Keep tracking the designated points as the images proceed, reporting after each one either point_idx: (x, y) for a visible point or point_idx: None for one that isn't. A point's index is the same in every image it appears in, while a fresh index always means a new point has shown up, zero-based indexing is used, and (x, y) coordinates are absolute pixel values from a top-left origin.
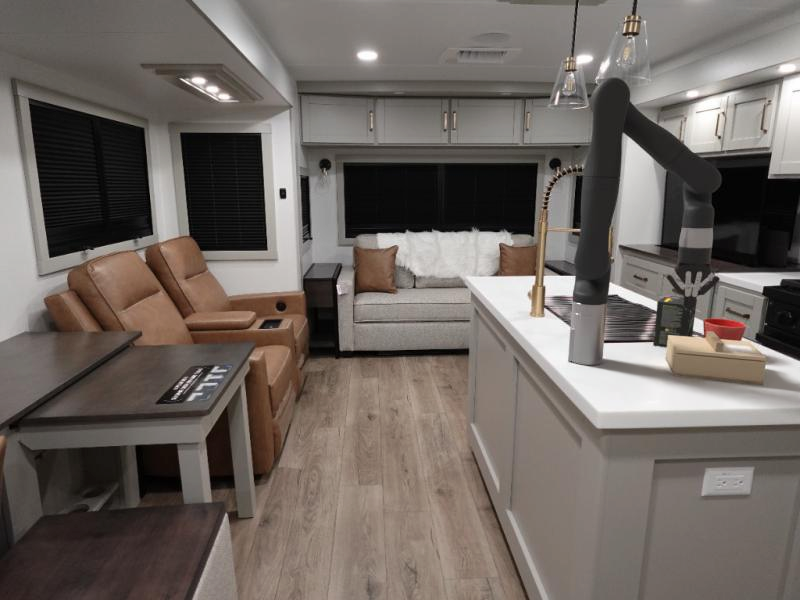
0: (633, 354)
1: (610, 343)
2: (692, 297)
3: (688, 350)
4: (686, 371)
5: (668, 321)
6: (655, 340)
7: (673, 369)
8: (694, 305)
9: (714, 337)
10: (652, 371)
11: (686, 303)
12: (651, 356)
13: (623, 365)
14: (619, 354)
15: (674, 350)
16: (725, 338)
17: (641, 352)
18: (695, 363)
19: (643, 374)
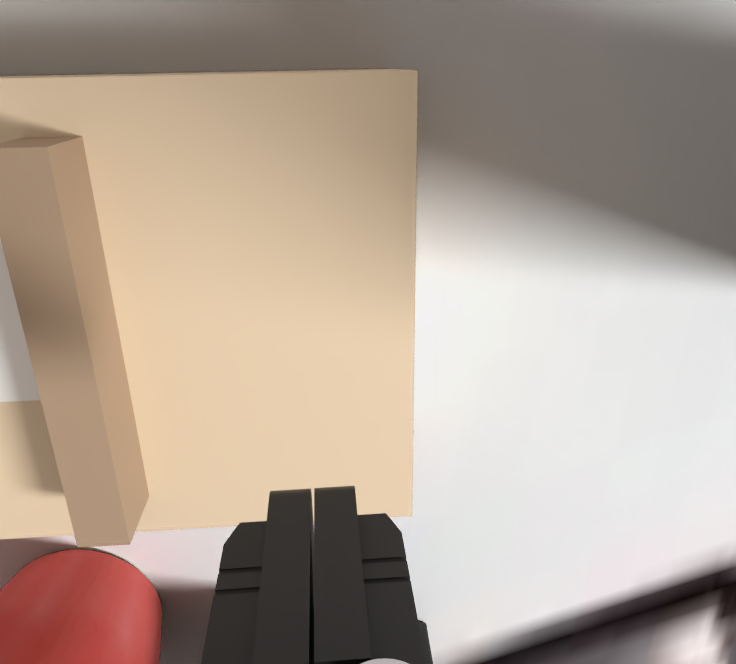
0: (566, 427)
1: (654, 577)
2: (276, 658)
3: (313, 87)
4: (313, 70)
5: None
6: (422, 644)
7: None
8: (237, 558)
9: (67, 353)
10: (514, 116)
11: (365, 567)
12: (467, 427)
13: (678, 180)
14: (650, 398)
15: None
16: (18, 631)
17: (512, 480)
18: (254, 72)
19: (587, 19)
